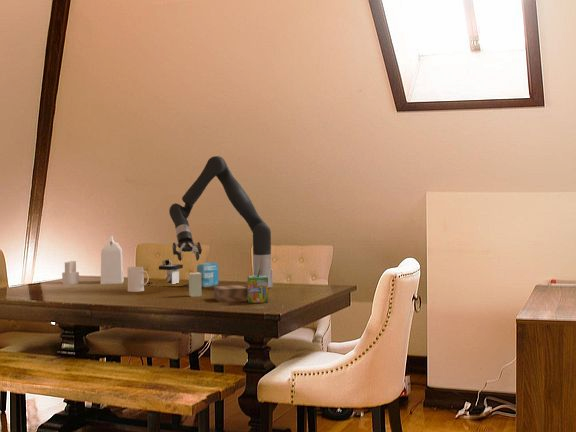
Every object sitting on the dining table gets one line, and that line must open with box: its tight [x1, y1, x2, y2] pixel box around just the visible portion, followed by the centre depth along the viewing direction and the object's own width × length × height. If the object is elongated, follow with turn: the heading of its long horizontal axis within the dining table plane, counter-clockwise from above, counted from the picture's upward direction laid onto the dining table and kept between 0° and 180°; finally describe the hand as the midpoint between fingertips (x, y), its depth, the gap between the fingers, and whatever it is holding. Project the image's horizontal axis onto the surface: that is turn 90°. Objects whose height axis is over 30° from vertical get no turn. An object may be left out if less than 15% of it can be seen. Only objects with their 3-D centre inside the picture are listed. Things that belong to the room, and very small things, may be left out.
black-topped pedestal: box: [149, 259, 189, 286], centre depth 441 cm, size 28×26×13 cm
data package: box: [196, 262, 219, 288], centre depth 428 cm, size 12×4×12 cm, turn 142°
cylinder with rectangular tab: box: [61, 260, 80, 285], centre depth 449 cm, size 9×9×12 cm
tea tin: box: [188, 272, 203, 298], centre depth 387 cm, size 5×5×11 cm
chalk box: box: [246, 269, 269, 304], centre depth 363 cm, size 9×9×15 cm
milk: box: [100, 235, 125, 285], centre depth 450 cm, size 12×12×26 cm
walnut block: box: [213, 284, 248, 303], centre depth 372 cm, size 13×13×6 cm
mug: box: [126, 266, 150, 293], centre depth 409 cm, size 12×8×12 cm
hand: (189, 259), depth 397 cm, fingers open, 8 cm apart
